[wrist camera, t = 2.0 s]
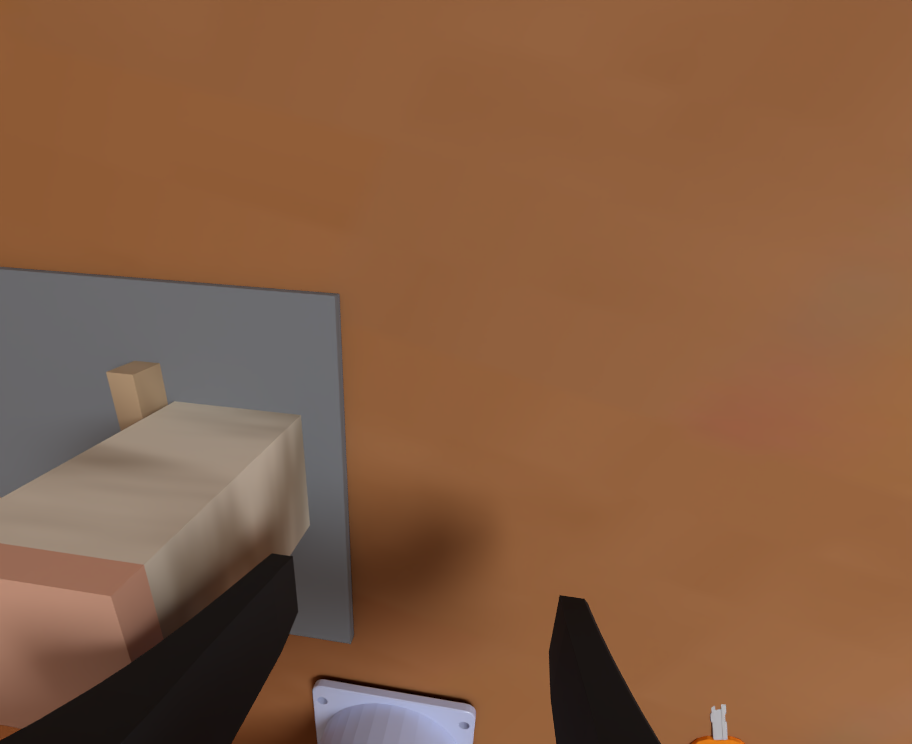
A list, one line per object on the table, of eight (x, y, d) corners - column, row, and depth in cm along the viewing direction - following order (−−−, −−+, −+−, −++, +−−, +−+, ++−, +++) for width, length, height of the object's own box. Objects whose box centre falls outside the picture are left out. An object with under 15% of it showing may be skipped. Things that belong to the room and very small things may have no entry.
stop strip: (195, 537, 19) (174, 558, 17) (173, 534, 19) (151, 554, 18) (159, 362, 16) (132, 374, 15) (134, 360, 16) (105, 372, 15)
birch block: (309, 525, 18) (160, 755, 10) (195, 509, 18) (-28, 719, 11) (300, 415, 16) (110, 596, 8) (174, 401, 16) (-113, 561, 9)
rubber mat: (353, 635, 20) (350, 643, 20) (46, 586, 22) (37, 593, 21) (339, 293, 14) (334, 296, 14) (-76, 261, 16) (-91, 261, 16)
